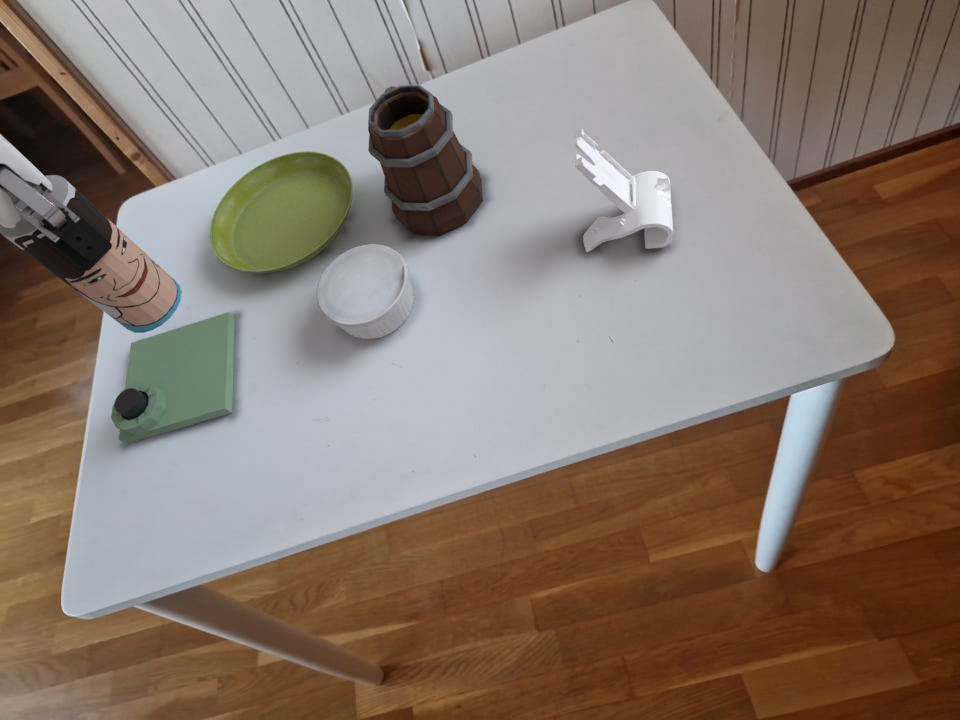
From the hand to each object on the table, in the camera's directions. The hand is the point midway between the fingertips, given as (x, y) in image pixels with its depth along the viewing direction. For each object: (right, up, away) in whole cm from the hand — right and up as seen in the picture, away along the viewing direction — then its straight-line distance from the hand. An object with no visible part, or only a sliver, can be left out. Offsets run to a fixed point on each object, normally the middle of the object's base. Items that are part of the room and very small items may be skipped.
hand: (76, 242), depth 60 cm
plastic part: (+53, +5, +17) cm, 56 cm away
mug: (+30, +12, +28) cm, 43 cm away
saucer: (+10, +8, +32) cm, 35 cm away
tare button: (-5, -16, +19) cm, 26 cm away
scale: (-1, -13, +23) cm, 26 cm away
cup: (+3, -5, +9) cm, 10 cm away
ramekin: (+24, -4, +21) cm, 32 cm away
